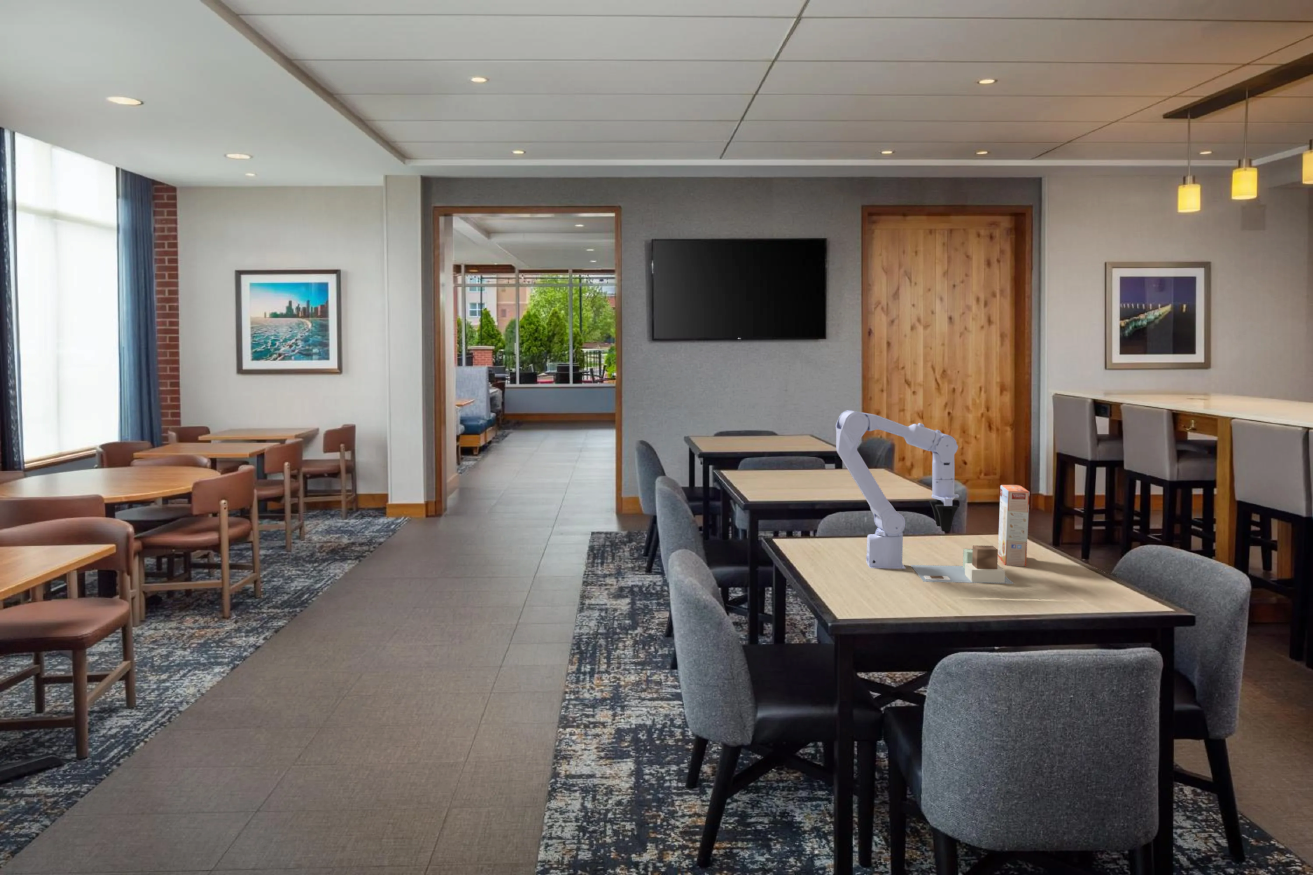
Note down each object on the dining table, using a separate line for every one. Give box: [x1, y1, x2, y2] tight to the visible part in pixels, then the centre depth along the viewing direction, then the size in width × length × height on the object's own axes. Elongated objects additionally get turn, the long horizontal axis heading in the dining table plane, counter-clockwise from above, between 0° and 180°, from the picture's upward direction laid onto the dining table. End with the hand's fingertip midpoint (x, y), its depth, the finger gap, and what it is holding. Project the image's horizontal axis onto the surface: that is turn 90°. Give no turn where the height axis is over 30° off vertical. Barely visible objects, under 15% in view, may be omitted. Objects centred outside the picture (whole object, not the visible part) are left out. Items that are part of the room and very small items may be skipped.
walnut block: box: [972, 545, 999, 569], centre depth 249 cm, size 5×5×5 cm
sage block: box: [962, 548, 973, 569], centre depth 260 cm, size 5×5×5 cm
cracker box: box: [997, 484, 1030, 567], centre depth 271 cm, size 14×6×21 cm, turn 168°
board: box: [910, 564, 1014, 585], centre depth 255 cm, size 22×20×1 cm
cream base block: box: [965, 563, 1006, 582], centre depth 249 cm, size 8×8×3 cm
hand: (943, 528), depth 265 cm, fingers open, 7 cm apart
